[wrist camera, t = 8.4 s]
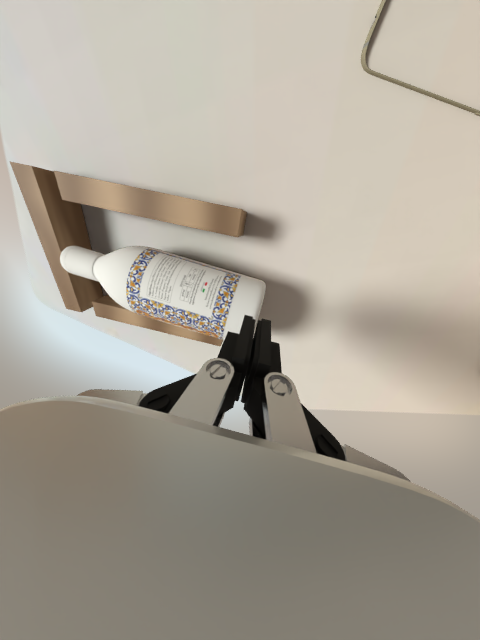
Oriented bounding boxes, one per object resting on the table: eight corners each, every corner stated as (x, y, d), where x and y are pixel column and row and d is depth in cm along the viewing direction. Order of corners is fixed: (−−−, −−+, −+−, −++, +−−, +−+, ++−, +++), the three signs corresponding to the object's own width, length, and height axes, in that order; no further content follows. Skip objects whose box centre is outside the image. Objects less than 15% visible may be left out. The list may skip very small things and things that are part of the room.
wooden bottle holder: (246, 212, 16) (241, 209, 13) (226, 330, 23) (220, 346, 20) (55, 172, 17) (9, 161, 14) (91, 298, 24) (66, 308, 21)
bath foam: (248, 332, 22) (102, 288, 22) (265, 280, 20) (103, 231, 20) (245, 360, 15) (36, 296, 16) (270, 285, 13) (28, 212, 13)
